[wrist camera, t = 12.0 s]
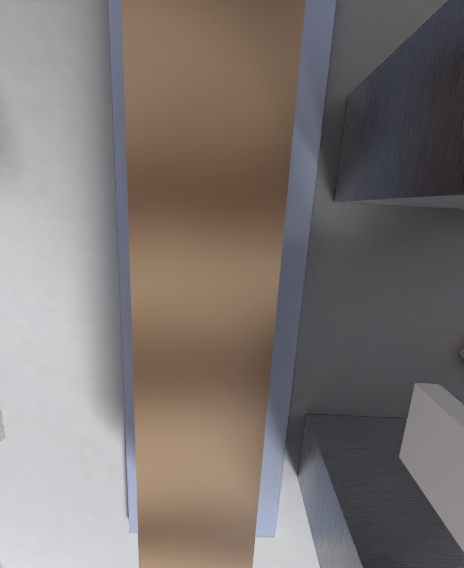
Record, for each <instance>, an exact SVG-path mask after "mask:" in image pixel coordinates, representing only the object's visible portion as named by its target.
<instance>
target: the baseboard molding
mask: <svg viewBox="0 0 464 568" xmlns="http://www.w3.org/2000/svg"><path fill="white" fill-rule="evenodd" d="M459 353H460V354H461V356H462V357H463V358H464V347H463V348H462V350H461V351H460V352H459Z"/></svg>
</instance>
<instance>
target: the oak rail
mask: <svg viewBox="0 0 464 568" xmlns="http://www.w3.org/2000/svg"><path fill="white" fill-rule="evenodd" d="M305 1H306V0H122V30H123V62H124V95H125V127H126V159H127V192H128V224H129V256H130V289H131V321H132V353H133V386H134V418H135V450H136V483H137V515H138V547H139V568H252V565H253V554H254V544H255V533H256V522H257V512H258V501H259V491H260V480H261V469H262V459H263V448H264V437H265V427H266V416H267V405H268V395H269V384H270V373H271V363H272V352H273V342H274V331H275V320H276V310H277V299H278V288H279V278H280V267H281V256H282V246H283V235H284V224H285V214H286V203H287V192H288V182H289V171H290V161H291V150H292V139H293V129H294V118H295V107H296V97H297V86H298V75H299V65H300V54H301V43H302V33H303V22H304V12H305Z"/></svg>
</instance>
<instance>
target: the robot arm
mask: <svg viewBox="0 0 464 568" xmlns="http://www.w3.org/2000/svg"><path fill="white" fill-rule="evenodd" d="M4 438H5V433H4V426H3V419H2V412H1V405H0V442H1V441H2V440H3V439H4ZM399 458H400V459H401V460H402V462H403V463H404V465H405V466H406V468H407V469H408V471H409V472H410V474H411V475H412V477H413V478H414V480H415V481H416V483H417V484H418V486H419V487H420V488H421V490H422V491H423V493H424V494H425V496H426V497H427V499H428V500H429V502H430V503H431V505H432V506H433V508H434V509H435V511H436V512H437V514H438V515H439V517H440V518H441V519H442V521H443V522H444V524H445V525H446V527H447V528H448V530H449V531H450V533H451V534H452V536H453V537H454V539H455V540H456V542H457V543H458V545H459V546H460V547H461V549H462V550H463V552H464V404H463V403H461V402H460V401H459V400H458V399H457V398H455V397H454V396H453V395H452V394H451V393H449V392H448V391H447V390H446V389H445V388H443V387H442V386H441V385H440V384H427V383H415V385H414V389H413V394H412V399H411V403H410V408H409V413H408V417H407V422H406V427H405V431H404V436H403V441H402V445H401V450H400V455H399Z"/></svg>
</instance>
